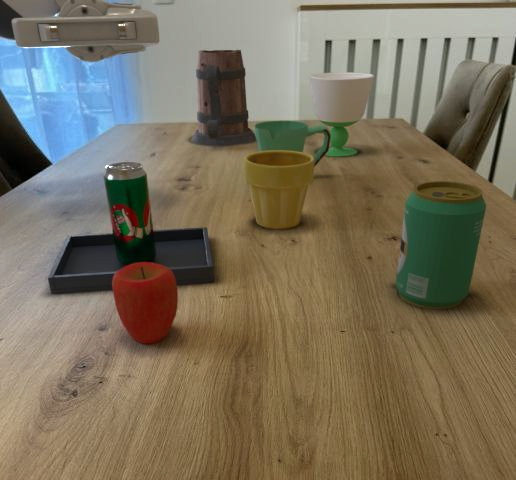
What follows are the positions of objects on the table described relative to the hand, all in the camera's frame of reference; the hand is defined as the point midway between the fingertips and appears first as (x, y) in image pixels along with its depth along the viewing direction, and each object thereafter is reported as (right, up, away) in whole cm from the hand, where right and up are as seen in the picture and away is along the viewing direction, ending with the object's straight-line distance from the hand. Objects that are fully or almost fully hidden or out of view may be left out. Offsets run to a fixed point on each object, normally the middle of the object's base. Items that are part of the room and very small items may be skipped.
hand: (88, 32), depth 74 cm
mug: (+29, -10, +32) cm, 45 cm away
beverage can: (+43, -37, -11) cm, 57 cm away
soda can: (+7, -31, -2) cm, 32 cm away
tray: (+7, -32, -2) cm, 33 cm away
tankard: (+14, +9, +64) cm, 66 cm away
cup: (+41, +2, +51) cm, 66 cm away
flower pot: (+26, -23, +11) cm, 37 cm away
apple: (+12, -41, -18) cm, 47 cm away
